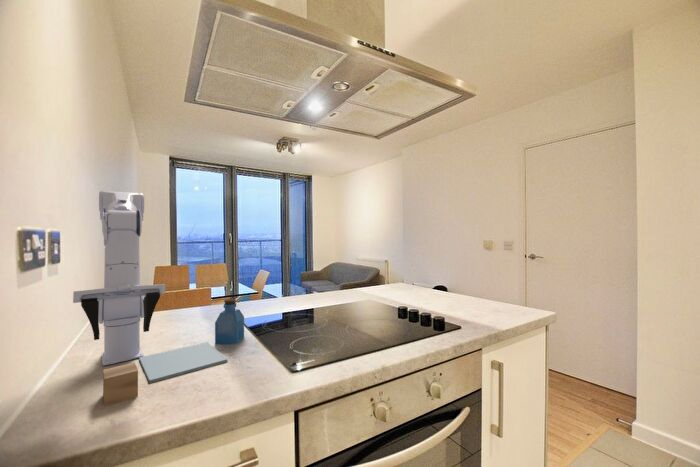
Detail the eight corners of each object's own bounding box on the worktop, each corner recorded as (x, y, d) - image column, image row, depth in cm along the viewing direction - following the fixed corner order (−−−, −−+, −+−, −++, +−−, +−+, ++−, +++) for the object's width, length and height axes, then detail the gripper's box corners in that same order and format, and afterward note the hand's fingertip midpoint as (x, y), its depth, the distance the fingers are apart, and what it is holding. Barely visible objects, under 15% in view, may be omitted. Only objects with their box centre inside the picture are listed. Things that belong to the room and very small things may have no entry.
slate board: (139, 359, 75) (139, 357, 75) (207, 344, 85) (207, 342, 85) (149, 383, 63) (149, 380, 63) (227, 361, 73) (227, 359, 73)
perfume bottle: (244, 336, 92) (243, 297, 92) (237, 343, 86) (236, 301, 86) (223, 337, 92) (223, 297, 92) (215, 344, 85) (215, 302, 86)
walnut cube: (103, 395, 58) (103, 369, 58) (134, 386, 62) (134, 362, 62) (104, 406, 55) (104, 378, 55) (137, 396, 58) (137, 370, 58)
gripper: (73, 264, 54) (71, 343, 51) (167, 261, 63) (169, 327, 60) (74, 271, 59) (72, 343, 56) (161, 267, 68) (162, 328, 65)
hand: (122, 335), depth 58 cm, fingers open, 7 cm apart
